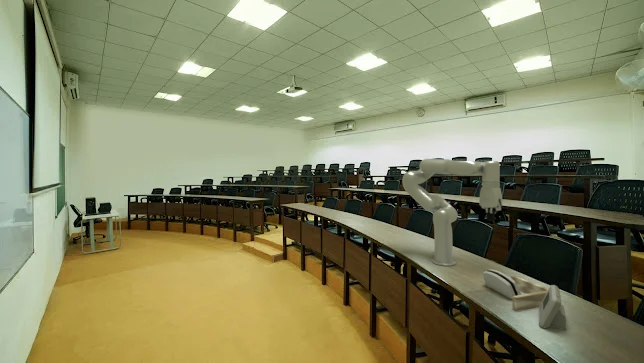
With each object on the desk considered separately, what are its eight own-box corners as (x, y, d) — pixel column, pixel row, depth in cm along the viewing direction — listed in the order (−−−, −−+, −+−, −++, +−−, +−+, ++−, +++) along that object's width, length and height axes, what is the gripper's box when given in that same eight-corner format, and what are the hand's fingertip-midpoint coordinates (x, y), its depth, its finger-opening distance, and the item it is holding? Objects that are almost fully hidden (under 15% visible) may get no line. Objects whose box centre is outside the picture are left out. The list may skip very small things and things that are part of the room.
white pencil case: (526, 300, 111) (518, 277, 110) (516, 304, 110) (508, 282, 110) (494, 283, 127) (488, 264, 127) (486, 287, 127) (479, 268, 126)
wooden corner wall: (478, 291, 119) (478, 280, 119) (514, 286, 124) (514, 275, 124) (516, 311, 102) (516, 297, 102) (556, 303, 107) (556, 291, 107)
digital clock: (540, 308, 104) (540, 280, 104) (572, 317, 97) (572, 288, 97) (528, 324, 94) (528, 293, 93) (563, 335, 87) (563, 302, 86)
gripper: (473, 184, 146) (473, 219, 147) (497, 185, 132) (497, 223, 132) (484, 184, 148) (484, 218, 148) (510, 185, 133) (510, 222, 134)
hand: (491, 220), depth 140 cm, fingers closed
